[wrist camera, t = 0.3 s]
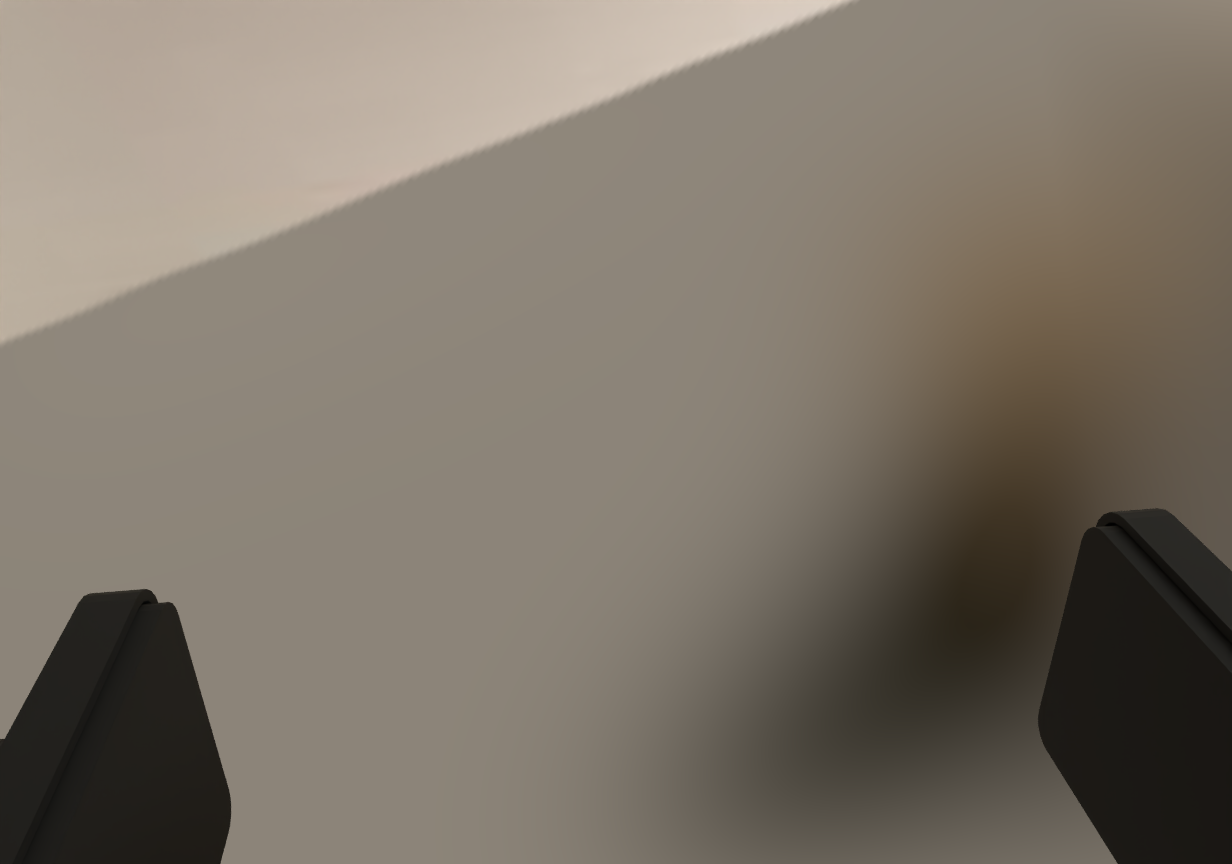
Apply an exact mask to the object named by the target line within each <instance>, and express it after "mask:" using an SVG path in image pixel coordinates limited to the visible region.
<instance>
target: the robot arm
mask: <svg viewBox="0 0 1232 864" xmlns="http://www.w3.org/2000/svg"><path fill="white" fill-rule="evenodd" d="M1038 726H1039V731H1040V736H1041V739H1042V742H1043V744H1044V746H1045V748H1046V750H1047V752H1048V753H1049V755H1050V756H1051V758H1052V760H1053V761H1054V762H1055V764H1056V766H1057V768H1058V769H1059V771H1060V772H1061V774H1062V776H1063V777H1064V779H1065V780H1066V782H1067V784H1068V785H1069V787H1070V788H1071V790H1072V791H1073V793H1074V795H1075V796H1076V798H1077V799H1078V801H1079V803H1080V804H1081V806H1082V807H1083V809H1084V811H1085V812H1086V814H1087V815H1088V817H1089V818H1090V820H1091V822H1092V823H1093V825H1094V826H1095V828H1096V830H1097V831H1098V833H1099V835H1100V836H1101V838H1102V839H1103V841H1104V843H1105V844H1106V846H1107V847H1108V849H1109V850H1110V852H1111V854H1112V855H1113V857H1114V858H1115V860H1116V862H1117V863H1118V864H1232V571H1231V570H1230V569H1229V568H1228V567H1227V566H1226V565H1225V564H1223V562H1221V561H1220V560H1219V559H1218V558H1217V557H1216V556H1215V555H1214V554H1213V553H1212V552H1211V551H1210V550H1209V549H1208V548H1207V547H1206V546H1205V545H1203V543H1202V542H1201V541H1200V540H1199V539H1197V538H1196V537H1195V536H1194V535H1193V534H1192V533H1191V532H1190V531H1189V530H1188V529H1187V528H1186V527H1185V526H1184V525H1183V524H1182V523H1181V522H1180V521H1178V519H1177V518H1176V517H1175V516H1173V515H1172V514H1171V513H1169V512H1168V511H1166V510H1163V509H1158V508H1156V509H1144V510H1131V511H1118V512H1109V513H1107V514H1104V515H1103V516H1102V517H1101V518H1100V519H1099V520H1098V523H1097V525H1096V527H1092V528H1090V529H1088V530H1087V531H1086V532H1085V533H1084V536H1083V538H1082V541H1081V545H1080V549H1079V553H1078V557H1077V561H1076V565H1075V569H1074V573H1073V577H1072V581H1071V585H1070V589H1069V593H1068V597H1067V601H1066V605H1065V609H1064V613H1063V617H1062V621H1061V625H1060V629H1059V633H1058V637H1057V641H1056V645H1055V649H1054V653H1053V657H1052V661H1051V665H1050V669H1049V673H1048V677H1047V681H1046V685H1045V689H1044V693H1043V697H1042V701H1041V705H1040V709H1039V715H1038ZM230 819H231V799H230V793H229V789H228V785H227V781H226V778H225V775H224V771H223V768H222V764H221V761H220V758H219V754H218V750H217V747H216V743H215V740H214V737H213V733H212V729H211V726H210V723H209V719H208V716H207V712H206V709H205V705H204V702H203V698H202V695H201V691H200V688H199V685H198V681H197V677H196V674H195V671H194V667H193V664H192V660H191V657H190V653H189V650H188V646H187V643H186V639H185V636H184V632H183V629H182V625H181V622H180V618H179V615H178V612H177V610H176V608H175V606H174V605H173V603H170V602H166V603H158V601H157V599H156V596H155V595H154V594H153V593H152V591H150V590H147V589H141V590H129V591H116V592H104V593H92V594H88V595H86V596H84V597H83V598H82V599H81V601H80V602H79V603H78V605H77V607H76V609H75V610H74V613H73V614H72V616H71V618H70V620H69V622H68V623H67V625H66V627H65V629H64V631H63V633H62V635H61V636H60V638H59V640H58V642H57V644H56V646H55V647H54V649H53V651H52V653H51V655H50V657H49V658H48V660H47V662H46V664H45V666H44V668H43V670H42V671H41V673H40V675H39V677H38V679H37V681H36V683H35V684H34V686H33V688H32V690H31V692H30V693H29V695H28V697H27V699H26V701H25V703H24V704H23V706H22V708H21V710H20V712H19V714H18V716H17V717H16V719H15V721H14V723H13V725H12V726H11V729H10V730H9V732H8V734H7V736H6V738H5V739H0V864H220V863H221V859H222V855H223V851H224V848H225V844H226V840H227V836H228V832H229V827H230Z"/></svg>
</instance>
